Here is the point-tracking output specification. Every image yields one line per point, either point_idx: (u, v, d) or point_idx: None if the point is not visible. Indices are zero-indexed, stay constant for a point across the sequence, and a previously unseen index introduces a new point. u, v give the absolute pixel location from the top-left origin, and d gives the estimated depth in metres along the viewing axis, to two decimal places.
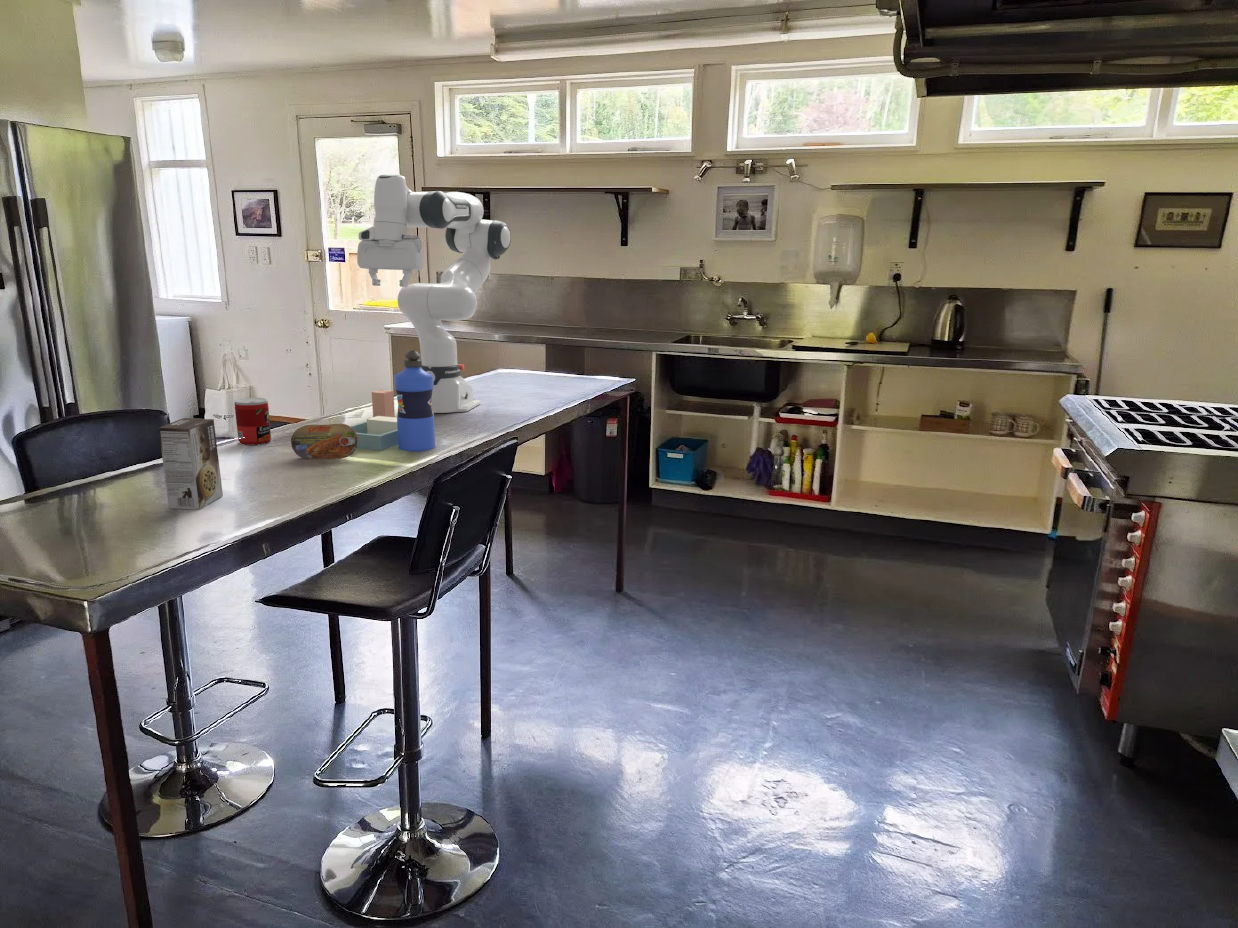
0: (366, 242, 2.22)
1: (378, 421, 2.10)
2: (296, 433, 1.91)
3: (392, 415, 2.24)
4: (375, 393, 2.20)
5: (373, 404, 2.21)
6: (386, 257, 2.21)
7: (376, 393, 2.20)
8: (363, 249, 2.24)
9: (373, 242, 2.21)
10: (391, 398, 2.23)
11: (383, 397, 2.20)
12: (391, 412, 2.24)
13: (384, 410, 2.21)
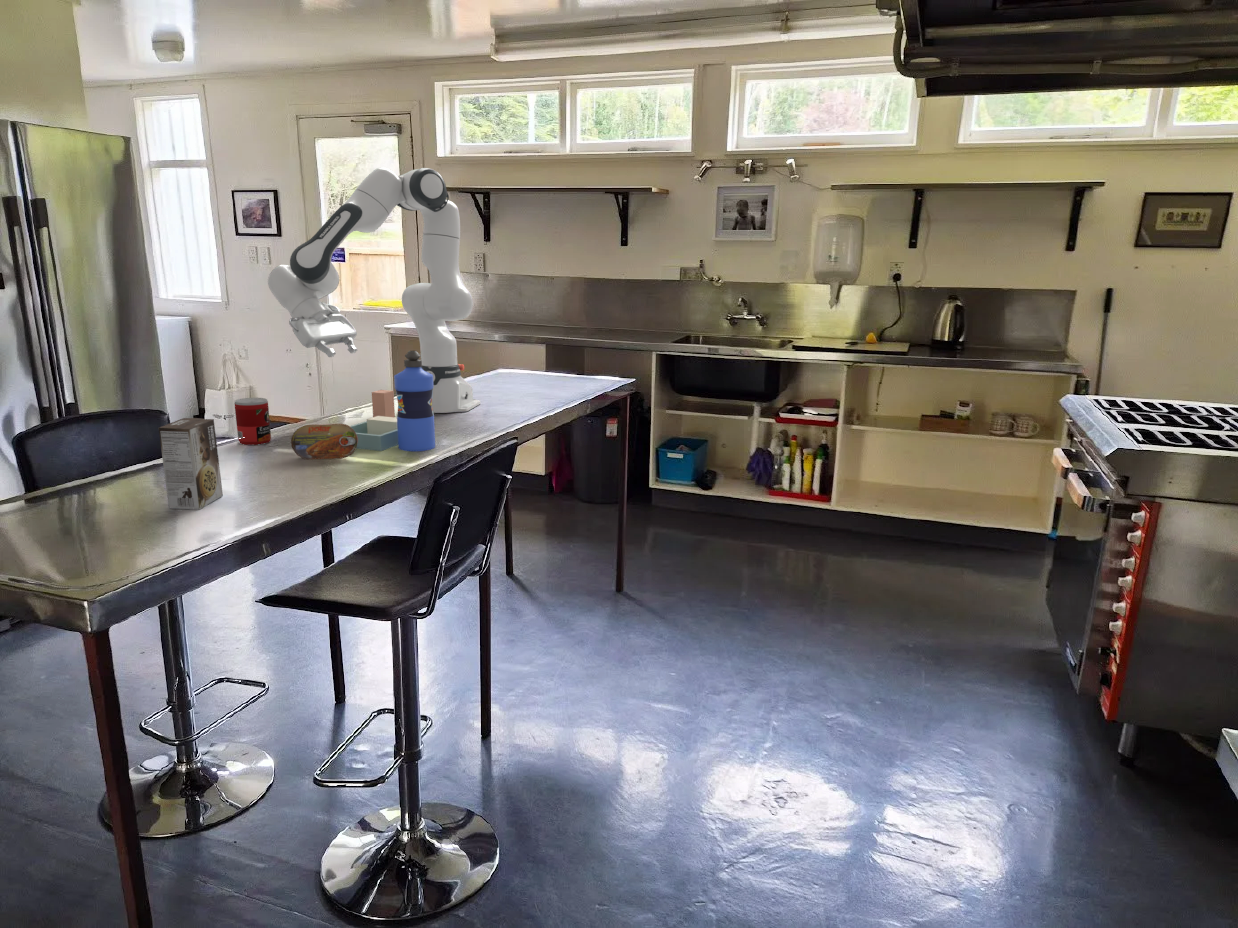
0: None
1: (378, 421, 2.10)
2: (296, 433, 1.91)
3: (392, 415, 2.24)
4: (375, 393, 2.20)
5: (373, 404, 2.21)
6: None
7: (376, 393, 2.20)
8: None
9: None
10: (391, 398, 2.23)
11: (383, 397, 2.20)
12: (391, 412, 2.24)
13: (384, 410, 2.21)
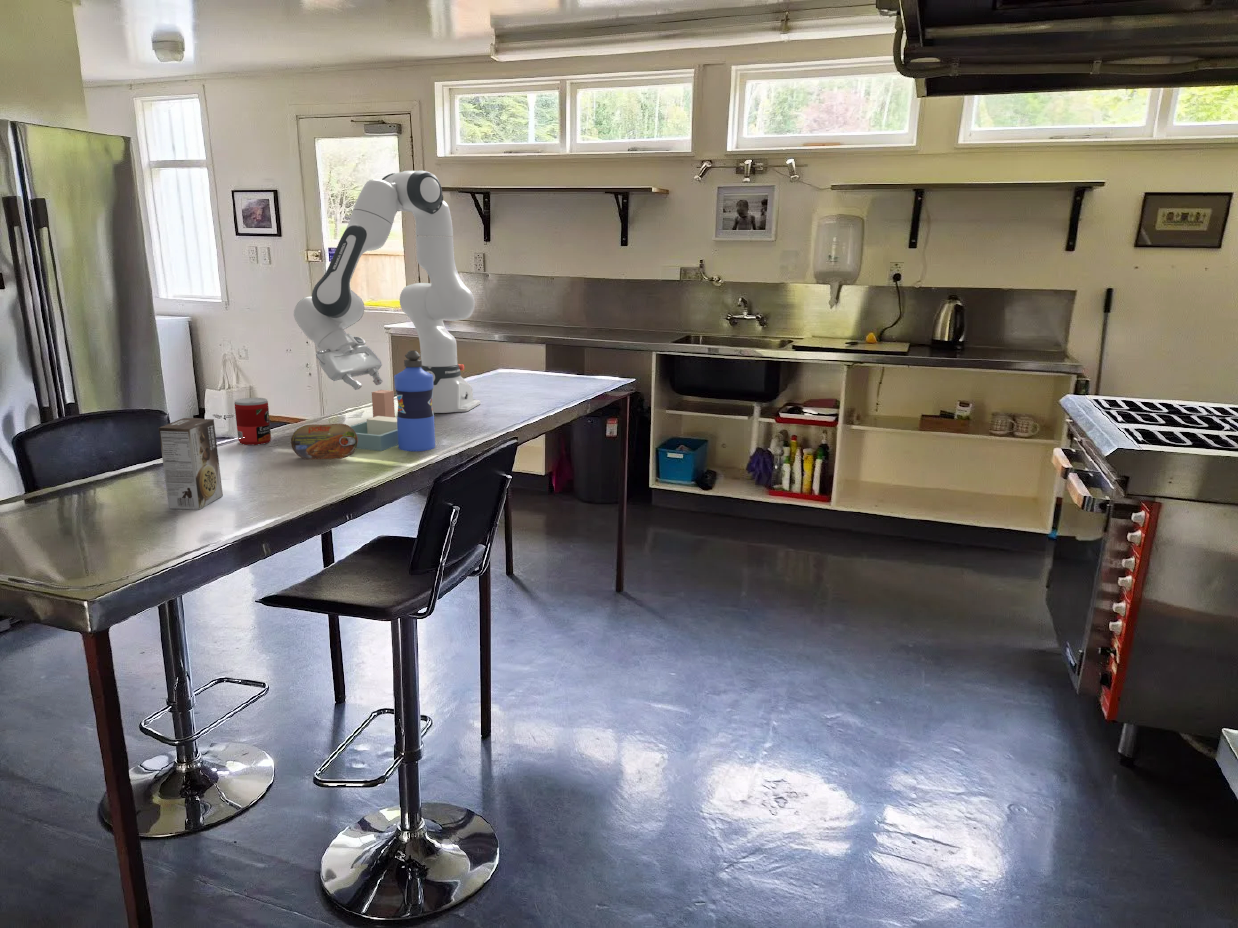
0: None
1: (378, 421, 2.10)
2: (296, 433, 1.91)
3: (392, 415, 2.24)
4: (375, 393, 2.20)
5: (373, 404, 2.21)
6: None
7: (376, 393, 2.20)
8: None
9: None
10: (391, 398, 2.23)
11: (383, 397, 2.20)
12: (391, 412, 2.24)
13: (384, 410, 2.21)
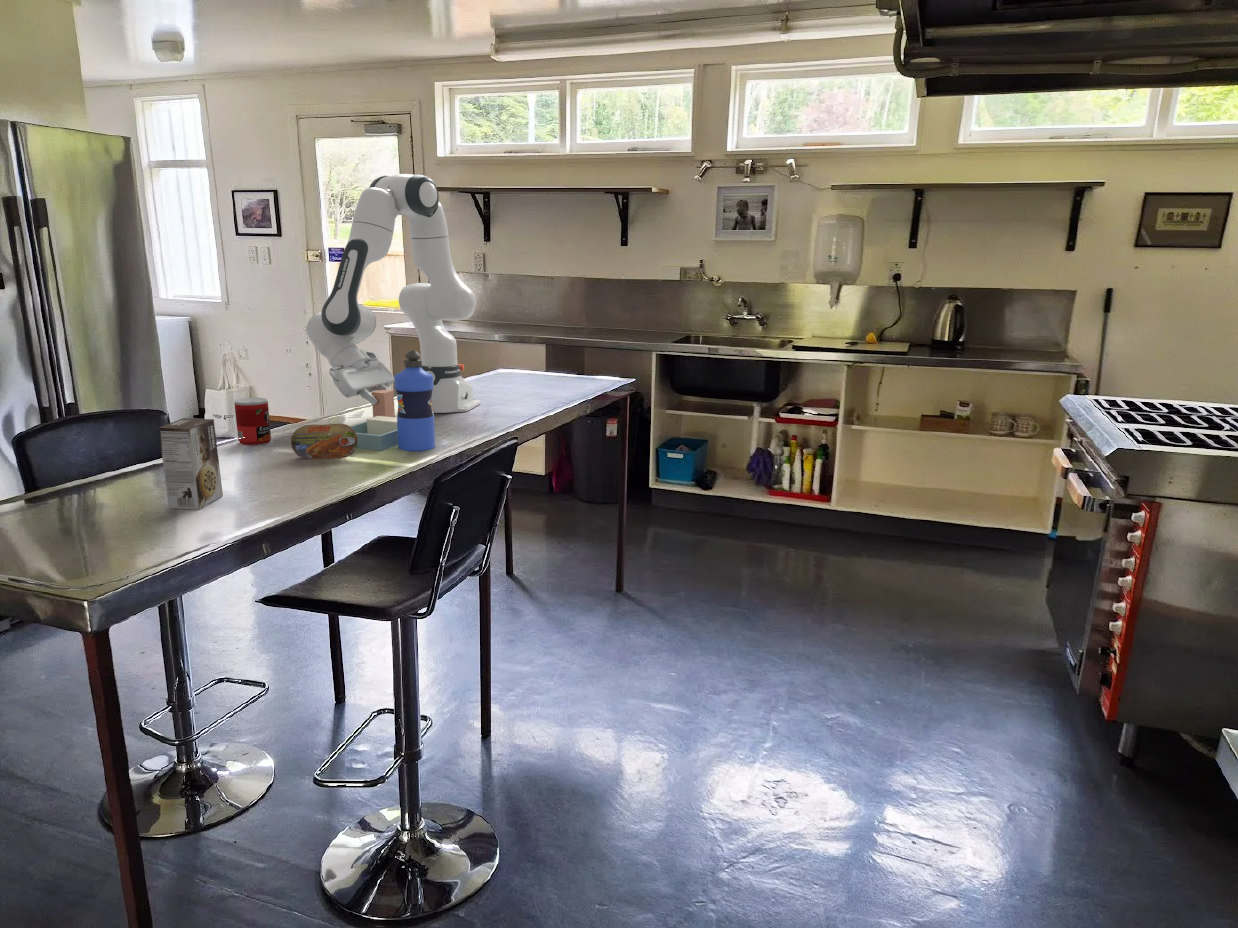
0: None
1: (378, 421, 2.10)
2: (296, 433, 1.91)
3: (392, 415, 2.24)
4: (375, 393, 2.20)
5: None
6: None
7: (376, 393, 2.20)
8: None
9: None
10: (391, 398, 2.23)
11: (383, 397, 2.20)
12: (391, 412, 2.24)
13: (384, 410, 2.21)
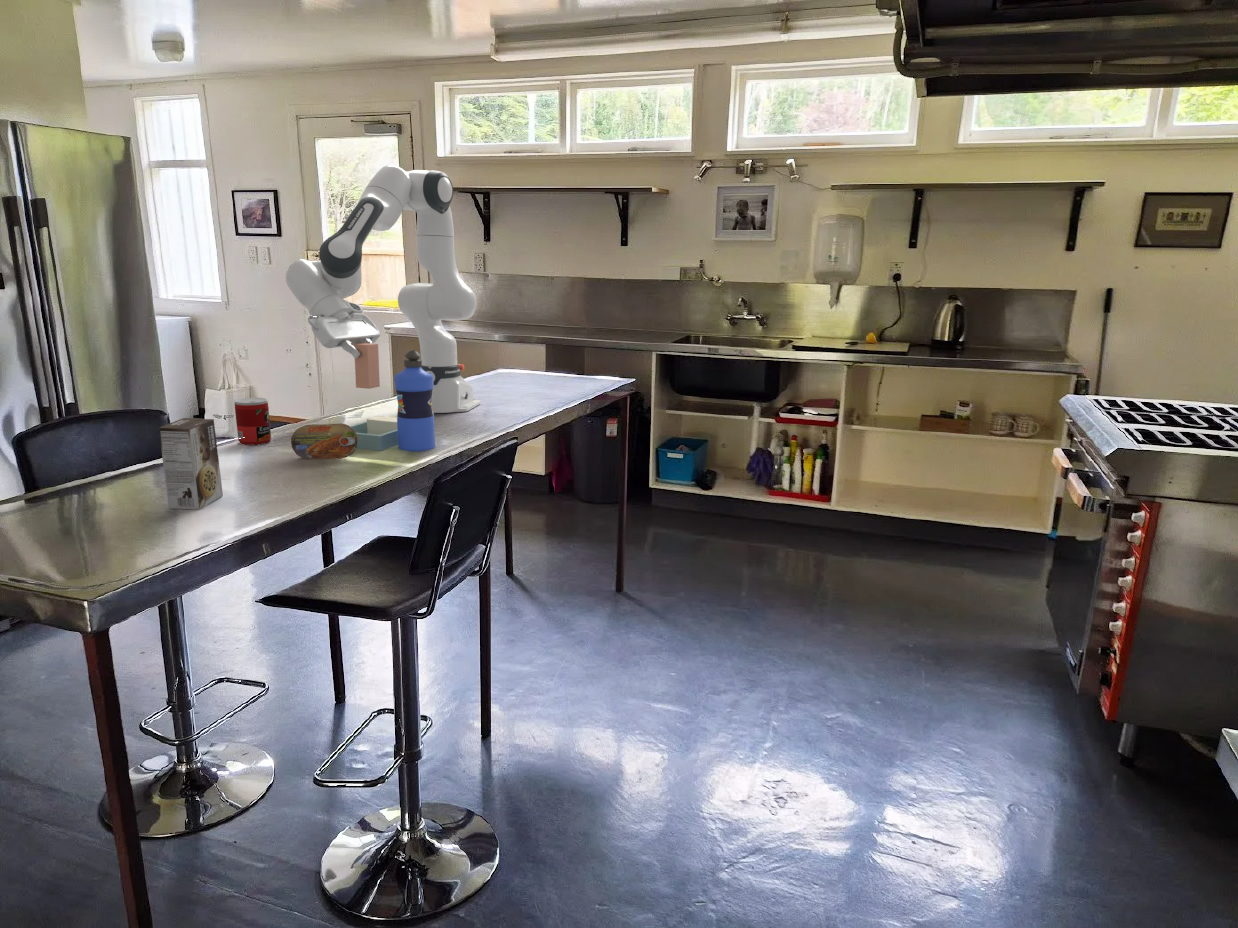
0: None
1: (378, 421, 2.10)
2: (296, 432, 1.91)
3: (376, 370, 2.07)
4: (358, 345, 2.03)
5: None
6: None
7: (359, 345, 2.03)
8: None
9: None
10: (375, 352, 2.06)
11: (366, 350, 2.03)
12: (375, 367, 2.06)
13: (367, 364, 2.03)
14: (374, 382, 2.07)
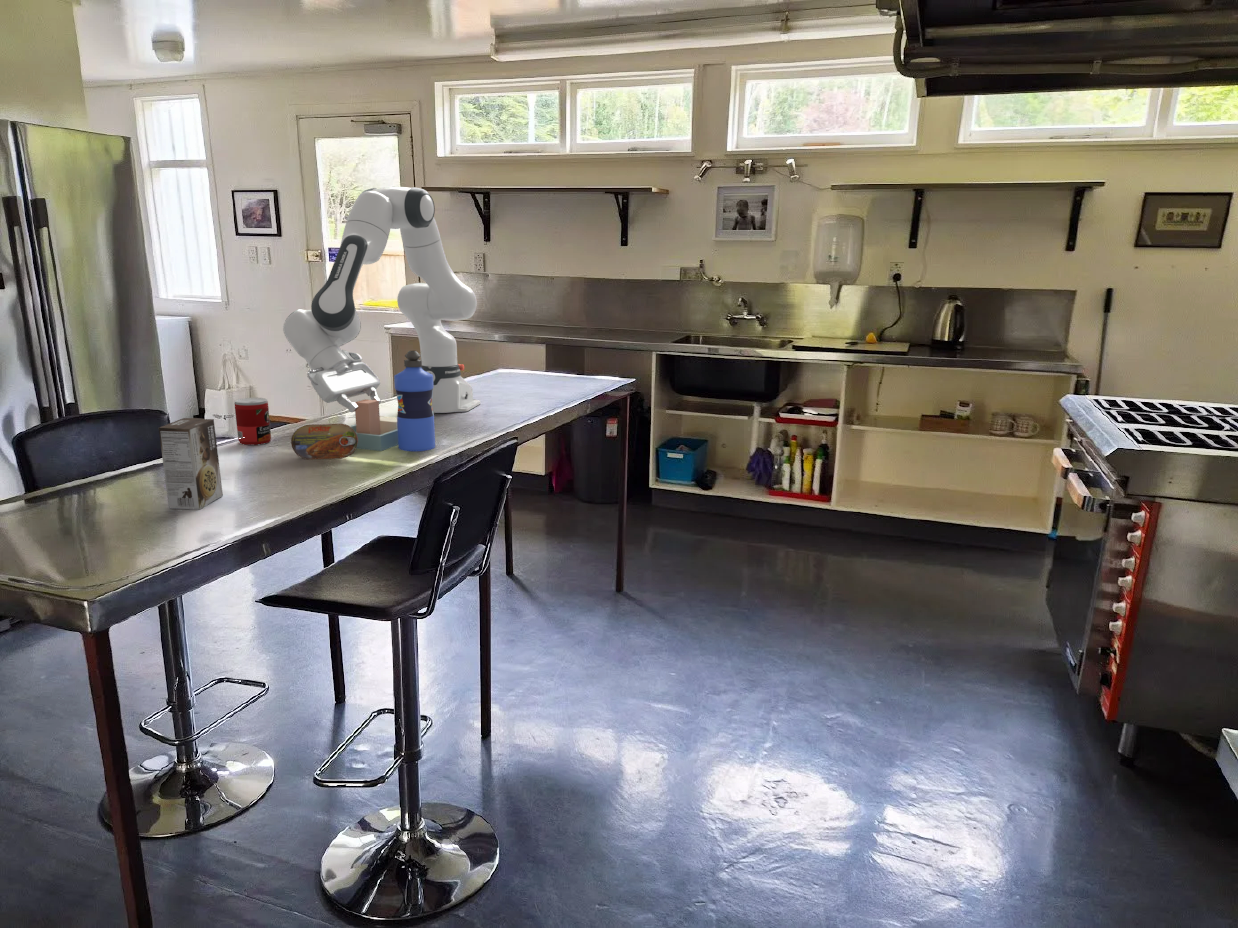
0: None
1: None
2: (296, 433, 1.91)
3: (377, 427, 2.05)
4: (358, 403, 2.01)
5: (356, 415, 2.02)
6: None
7: (359, 403, 2.01)
8: None
9: None
10: (376, 408, 2.04)
11: (367, 408, 2.01)
12: (376, 424, 2.04)
13: (368, 422, 2.02)
14: None
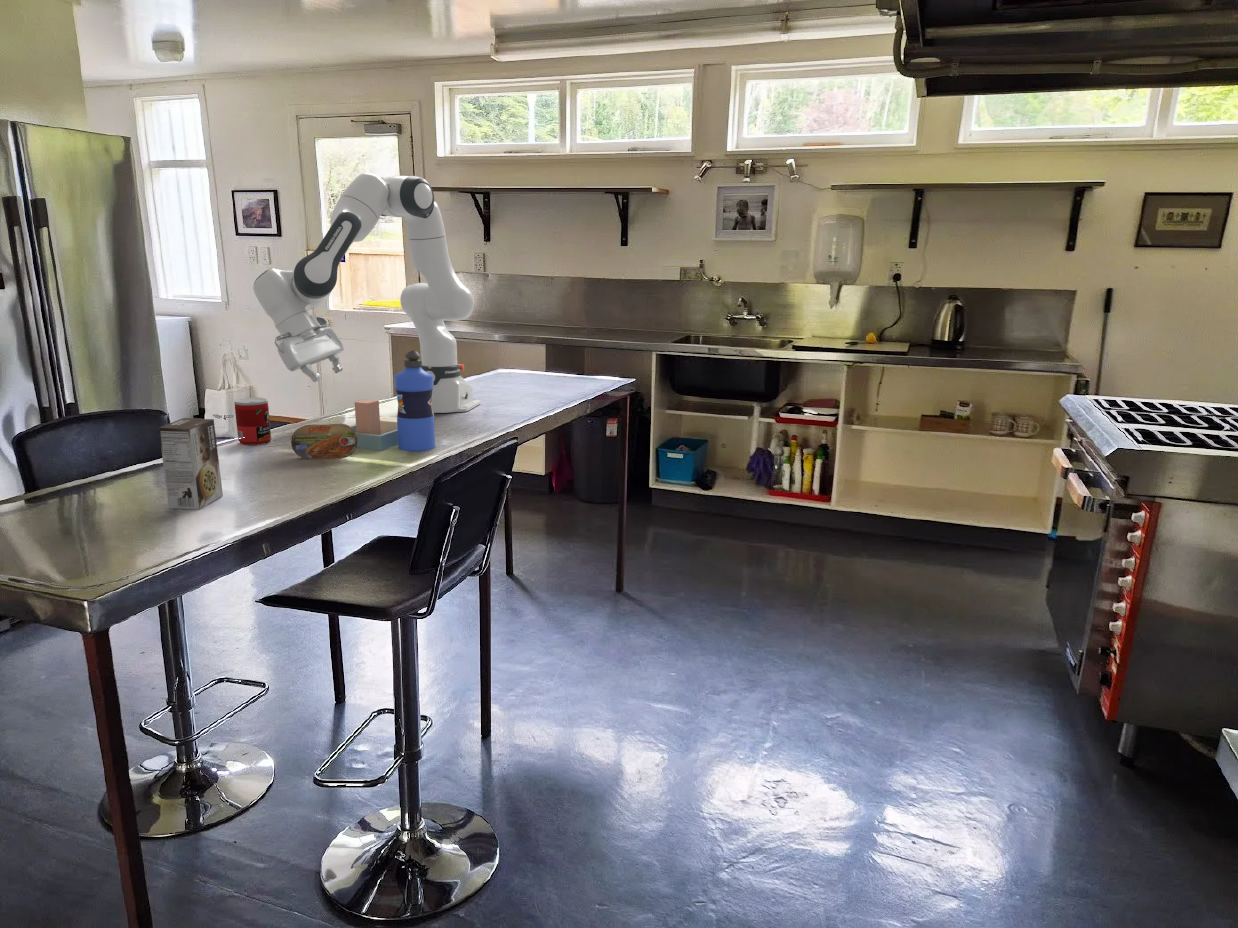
0: None
1: None
2: (296, 433, 1.91)
3: (377, 427, 2.05)
4: (358, 403, 2.01)
5: (356, 415, 2.02)
6: None
7: (359, 403, 2.01)
8: None
9: None
10: (376, 408, 2.04)
11: (367, 408, 2.01)
12: (376, 424, 2.04)
13: (368, 422, 2.02)
14: None
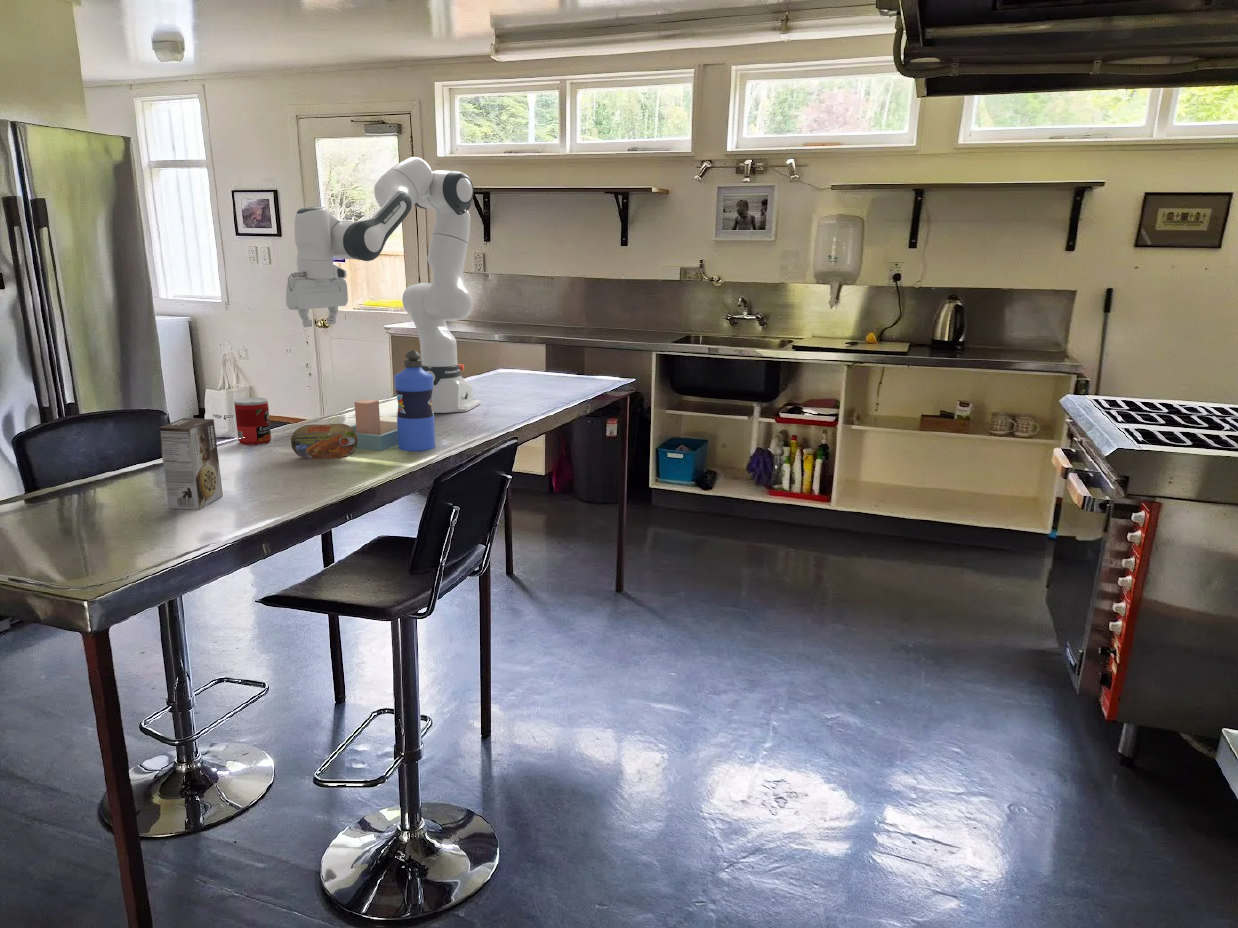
0: None
1: None
2: (296, 433, 1.91)
3: (377, 427, 2.05)
4: (358, 403, 2.01)
5: (356, 415, 2.02)
6: None
7: (359, 403, 2.01)
8: None
9: None
10: (376, 408, 2.04)
11: (367, 408, 2.01)
12: (376, 424, 2.04)
13: (368, 422, 2.02)
14: None
